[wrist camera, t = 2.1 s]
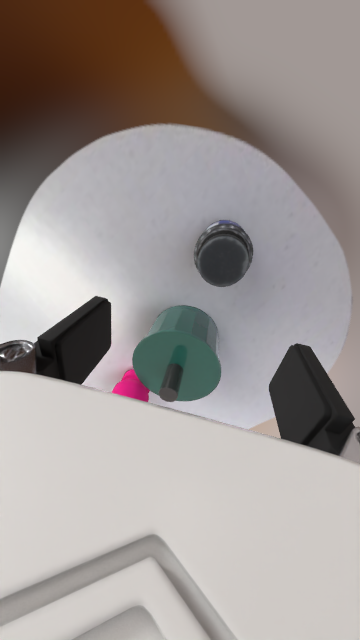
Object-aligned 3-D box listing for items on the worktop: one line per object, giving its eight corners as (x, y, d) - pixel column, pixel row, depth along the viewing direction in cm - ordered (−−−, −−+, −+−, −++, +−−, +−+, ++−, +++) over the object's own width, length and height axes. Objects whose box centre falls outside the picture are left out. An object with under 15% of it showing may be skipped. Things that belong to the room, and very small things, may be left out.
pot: (226, 313, 33) (227, 344, 26) (210, 367, 39) (207, 404, 32) (156, 298, 34) (138, 324, 27) (151, 352, 40) (135, 385, 33)
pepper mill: (120, 364, 43) (52, 470, 26) (154, 369, 42) (106, 483, 25) (123, 389, 47) (66, 496, 29) (154, 394, 46) (114, 509, 28)
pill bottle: (255, 245, 28) (272, 266, 18) (219, 274, 31) (218, 306, 21) (226, 208, 26) (228, 209, 17) (191, 242, 29) (176, 260, 20)
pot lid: (231, 339, 26) (234, 369, 22) (209, 403, 33) (207, 438, 28) (137, 317, 27) (118, 342, 22) (133, 384, 34) (118, 414, 29)
